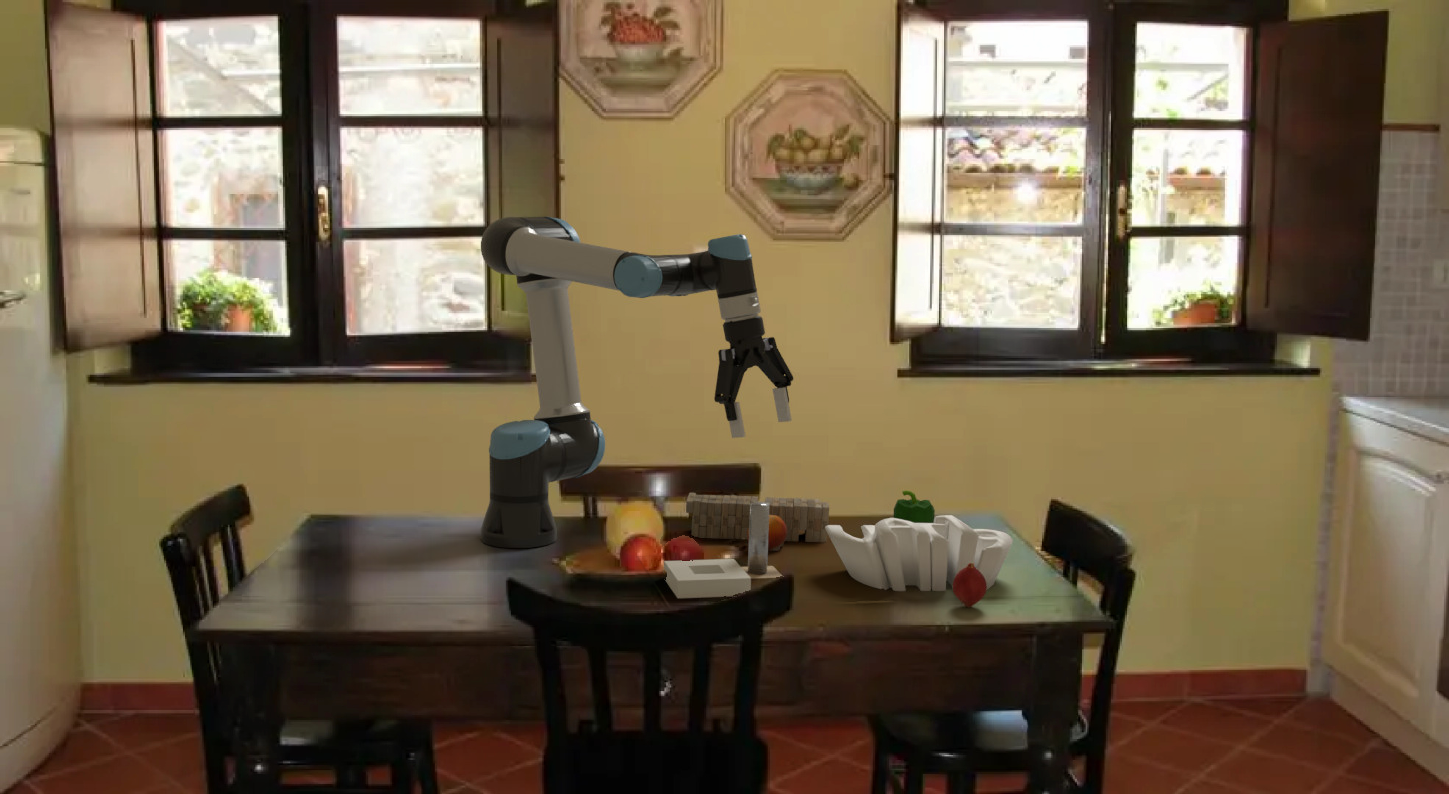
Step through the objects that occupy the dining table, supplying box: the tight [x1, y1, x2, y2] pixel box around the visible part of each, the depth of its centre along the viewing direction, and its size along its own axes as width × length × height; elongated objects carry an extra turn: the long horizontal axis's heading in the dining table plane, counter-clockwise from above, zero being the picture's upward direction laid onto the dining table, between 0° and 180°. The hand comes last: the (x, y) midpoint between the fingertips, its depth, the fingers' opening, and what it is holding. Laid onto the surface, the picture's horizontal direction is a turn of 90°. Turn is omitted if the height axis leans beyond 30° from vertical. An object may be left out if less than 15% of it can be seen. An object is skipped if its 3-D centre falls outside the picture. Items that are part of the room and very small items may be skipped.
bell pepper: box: [893, 490, 936, 523], centre depth 289 cm, size 8×8×10 cm
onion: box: [952, 563, 987, 608], centre depth 241 cm, size 6×6×8 cm
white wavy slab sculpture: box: [825, 514, 1014, 592], centre depth 257 cm, size 35×16×11 cm, turn 94°
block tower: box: [685, 492, 830, 543], centre depth 287 cm, size 8×8×29 cm
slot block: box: [663, 558, 752, 599], centre depth 248 cm, size 13×13×4 cm
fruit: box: [747, 515, 787, 552], centre depth 277 cm, size 8×8×8 cm
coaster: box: [741, 565, 783, 580], centre depth 258 cm, size 8×8×1 cm
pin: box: [747, 501, 769, 575], centre depth 257 cm, size 4×4×13 cm
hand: (762, 429), depth 261 cm, fingers open, 13 cm apart
